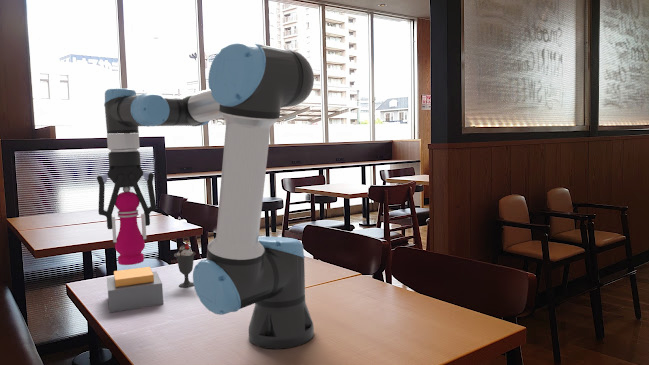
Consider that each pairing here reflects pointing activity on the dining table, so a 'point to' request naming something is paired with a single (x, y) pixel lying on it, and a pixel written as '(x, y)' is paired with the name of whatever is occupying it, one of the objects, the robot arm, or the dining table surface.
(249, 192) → the robot arm
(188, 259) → the sundae
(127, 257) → the pepper mill
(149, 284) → the breaker box
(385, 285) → the dining table surface
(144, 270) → the button
